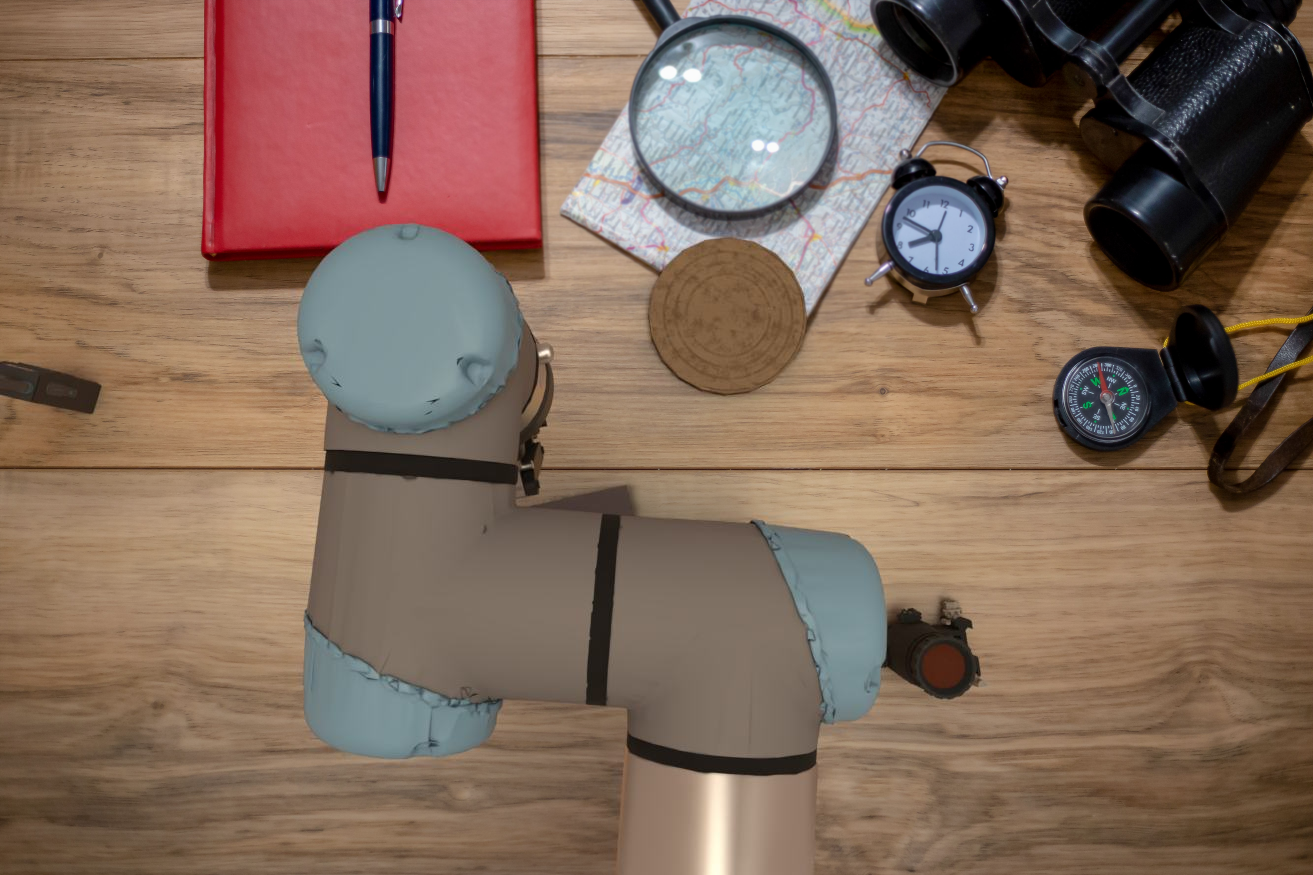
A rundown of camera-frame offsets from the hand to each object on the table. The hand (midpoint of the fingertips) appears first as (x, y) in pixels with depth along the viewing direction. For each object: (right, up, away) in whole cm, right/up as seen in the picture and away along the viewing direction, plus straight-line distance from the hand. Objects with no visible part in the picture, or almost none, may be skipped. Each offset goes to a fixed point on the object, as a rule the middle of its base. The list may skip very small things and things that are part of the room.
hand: (528, 420), depth 69 cm
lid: (+2, -9, +2) cm, 10 cm away
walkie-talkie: (-48, +3, +20) cm, 52 cm away
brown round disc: (+17, +11, +22) cm, 30 cm away
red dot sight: (+35, -22, +20) cm, 47 cm away
